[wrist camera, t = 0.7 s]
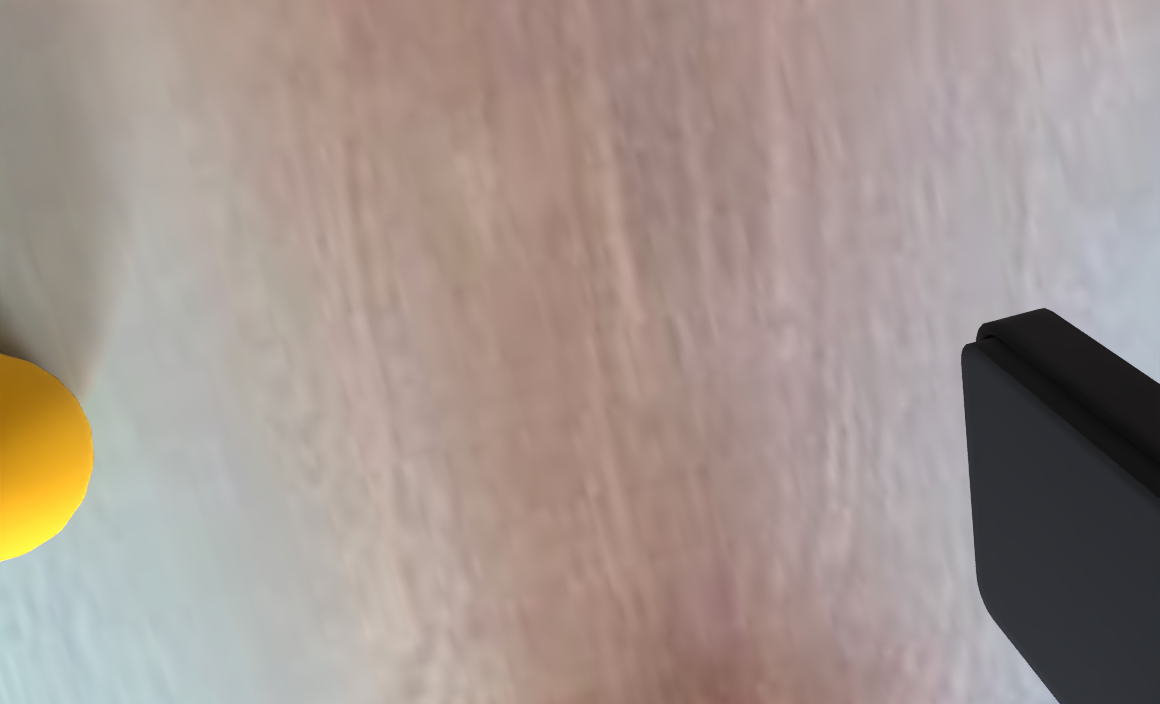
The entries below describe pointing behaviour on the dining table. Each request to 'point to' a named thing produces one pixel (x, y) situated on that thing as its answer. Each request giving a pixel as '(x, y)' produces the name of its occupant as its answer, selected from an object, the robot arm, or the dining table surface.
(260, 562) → the dining table surface
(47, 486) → the apple
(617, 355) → the dining table surface
